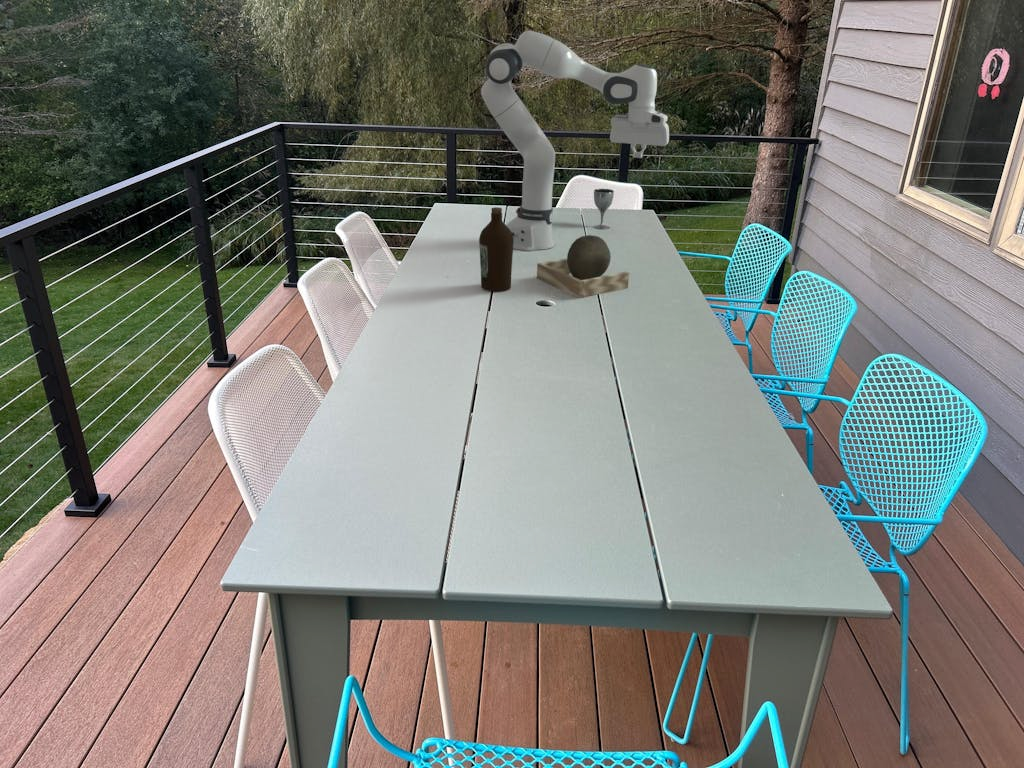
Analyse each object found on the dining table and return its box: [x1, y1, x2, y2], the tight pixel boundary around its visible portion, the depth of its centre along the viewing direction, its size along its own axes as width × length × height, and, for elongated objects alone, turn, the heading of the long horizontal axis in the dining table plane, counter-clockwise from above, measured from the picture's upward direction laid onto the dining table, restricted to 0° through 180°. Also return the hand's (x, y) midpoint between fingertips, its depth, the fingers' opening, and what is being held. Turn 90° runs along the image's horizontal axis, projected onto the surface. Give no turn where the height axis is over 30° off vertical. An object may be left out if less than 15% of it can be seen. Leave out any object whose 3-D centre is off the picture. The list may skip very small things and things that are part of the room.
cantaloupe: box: [566, 234, 612, 280], centre depth 246 cm, size 14×14×15 cm
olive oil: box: [478, 207, 514, 293], centre depth 237 cm, size 11×11×25 cm
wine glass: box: [592, 188, 615, 230], centre depth 313 cm, size 8×8×15 cm
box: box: [536, 257, 630, 299], centre depth 247 cm, size 20×23×5 cm
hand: (637, 157), depth 267 cm, fingers closed
